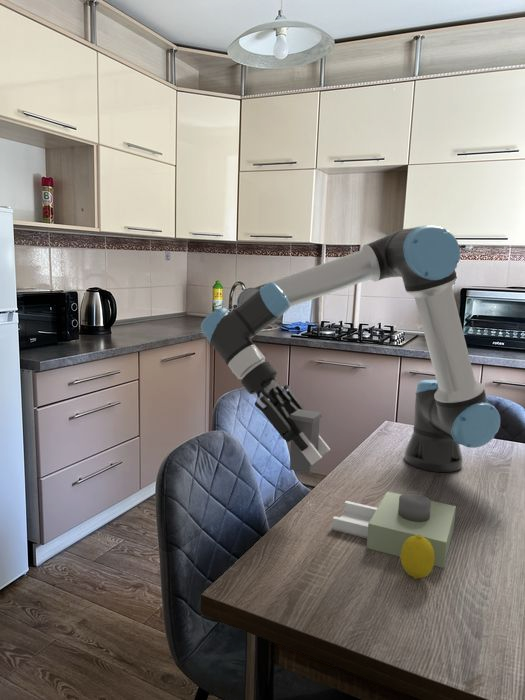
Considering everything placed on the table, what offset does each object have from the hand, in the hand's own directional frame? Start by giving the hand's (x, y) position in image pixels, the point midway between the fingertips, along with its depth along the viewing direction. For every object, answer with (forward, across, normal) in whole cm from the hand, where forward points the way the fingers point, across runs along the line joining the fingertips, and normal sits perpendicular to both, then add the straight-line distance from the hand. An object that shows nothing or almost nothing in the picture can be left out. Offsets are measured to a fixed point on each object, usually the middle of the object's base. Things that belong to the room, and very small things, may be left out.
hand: (321, 456), depth 109 cm
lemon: (+25, +13, +6) cm, 29 cm away
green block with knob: (+20, 0, +2) cm, 20 cm away
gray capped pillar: (0, 0, -5) cm, 5 cm away
